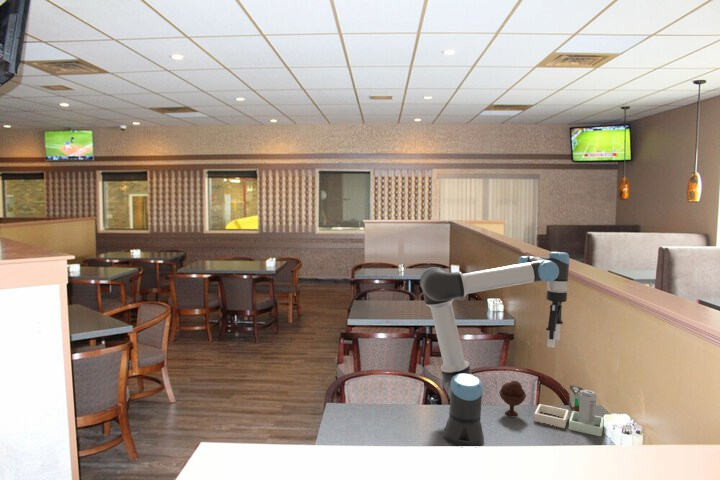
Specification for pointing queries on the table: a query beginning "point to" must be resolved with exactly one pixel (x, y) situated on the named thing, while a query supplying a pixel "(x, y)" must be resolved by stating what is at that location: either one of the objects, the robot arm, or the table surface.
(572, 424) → the green bin
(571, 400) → the food container
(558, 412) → the beige bin
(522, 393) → the ice cream bowl
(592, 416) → the energy drink can
